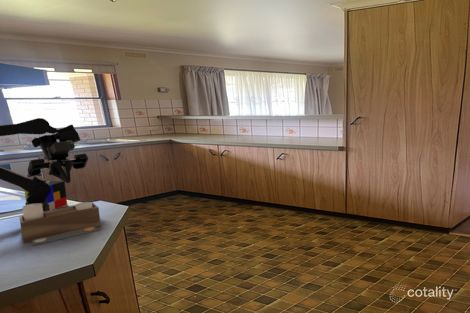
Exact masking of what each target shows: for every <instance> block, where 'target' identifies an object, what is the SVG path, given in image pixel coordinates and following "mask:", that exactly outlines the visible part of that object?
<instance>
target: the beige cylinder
mask: <svg viewBox="0 0 470 313" xmlns="http://www.w3.org/2000/svg"><path fill="white" fill-rule="evenodd" d="M92 203H93V202H92V201H91V202H89V201H86V202H80V203H77V204H75V205H74V206H75V208H76V211H78V210H83V209H88V208H93V207H92Z"/></svg>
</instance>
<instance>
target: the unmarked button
mask: <svg viewBox="0 0 470 313" xmlns="http://www.w3.org/2000/svg"><path fill="white" fill-rule="evenodd" d="M22 213H23V215H24V221H27V220H32V219H37V218H42V217H44V215H43V207H42V204H41V203H35V204H29V205H23V206H22Z"/></svg>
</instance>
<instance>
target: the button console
mask: <svg viewBox="0 0 470 313" xmlns="http://www.w3.org/2000/svg"><path fill="white" fill-rule="evenodd" d="M91 203H92V207H93V208H88V209H83V210H78V211H76V208H75V205H71V206H66V207H59V208H56V209H54V210H49V211H44V212H43V215H44V217H42V218H37V219H32V220H27V221H24V214H23V215H19V216H18V217H19V224H20V230H21V231H20V232H21V236H22V242H23V244H25V243H30V242H31V243H32V240H35V239H39V238H43V237H48V236H52V235H56V234H61V233H65V232H70V231H74V230H78V229H83V228H87V227H91V226H95V227H96V228H97V227H99V226H101V216H100V207H98V206H97V205H96V204H95V203H94V202H91Z"/></svg>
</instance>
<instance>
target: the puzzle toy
mask: <svg viewBox="0 0 470 313" xmlns="http://www.w3.org/2000/svg"><path fill="white" fill-rule="evenodd" d="M46 181H47V182H48V183H49V185H50V187H51V192H50V194H49V195H48V196H47V197H46V198H45V200H47V201H48V204H49V209H50V210H53V209H54V210H55V209H60V208H63V207H64V206H67V205H68V200H67V199H68V198H67V192H66V182H65V181H63V180H61V181H59V180H58V181H57V180H56V181H55V180H54V181H53V180H52V181H49V180H46ZM27 194H28V192H27V191H25V190H24V195H25V196H24V197H25V199H26V195H27ZM26 202H27V201H26V200H25V203H26Z"/></svg>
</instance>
